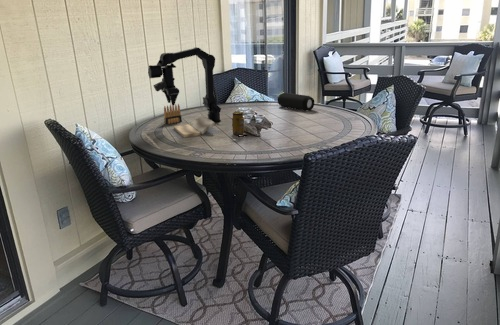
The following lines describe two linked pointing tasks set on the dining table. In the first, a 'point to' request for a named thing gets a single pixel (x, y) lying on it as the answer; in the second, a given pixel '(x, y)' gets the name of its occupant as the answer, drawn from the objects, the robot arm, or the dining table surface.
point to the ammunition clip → (172, 115)
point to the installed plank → (186, 131)
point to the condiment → (238, 123)
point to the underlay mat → (210, 131)
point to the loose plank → (202, 124)
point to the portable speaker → (296, 101)
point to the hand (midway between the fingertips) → (171, 104)
